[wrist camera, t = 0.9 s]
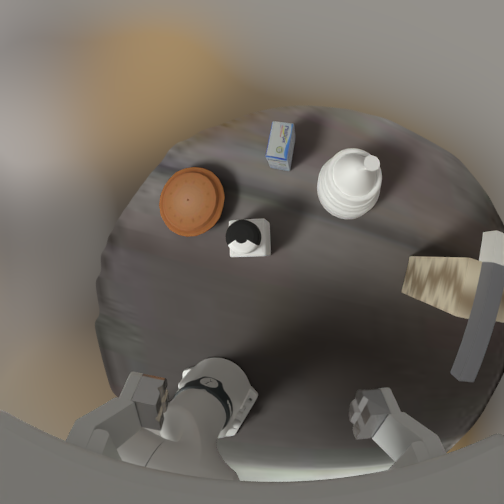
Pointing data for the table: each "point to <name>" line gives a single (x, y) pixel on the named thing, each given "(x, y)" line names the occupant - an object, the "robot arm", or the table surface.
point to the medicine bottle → (249, 238)
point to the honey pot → (350, 183)
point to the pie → (192, 201)
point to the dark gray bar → (482, 308)
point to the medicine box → (281, 145)
